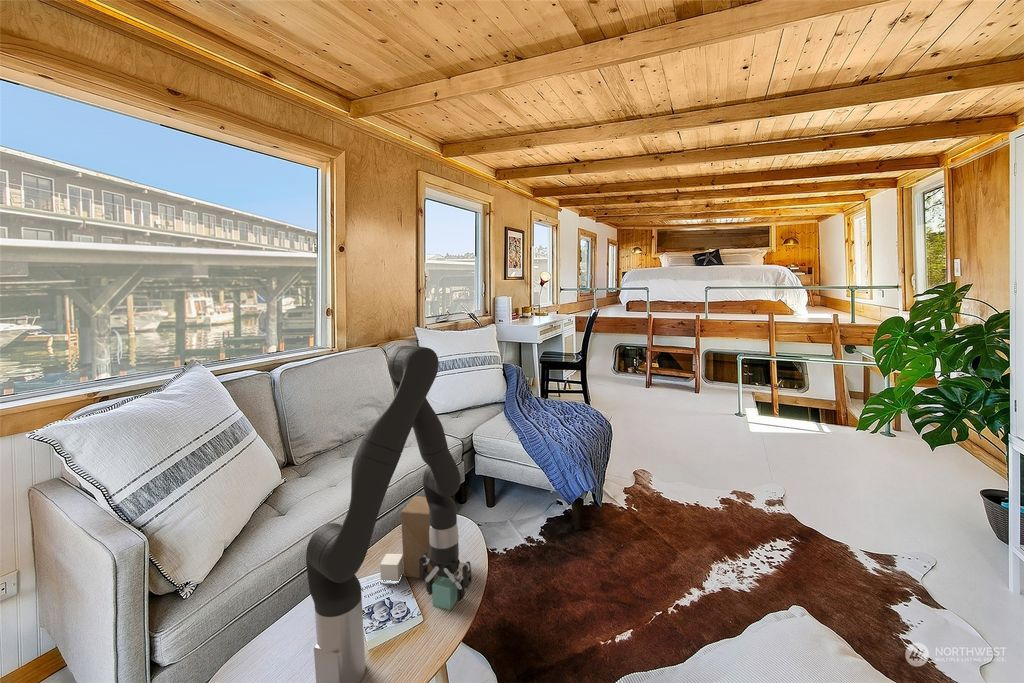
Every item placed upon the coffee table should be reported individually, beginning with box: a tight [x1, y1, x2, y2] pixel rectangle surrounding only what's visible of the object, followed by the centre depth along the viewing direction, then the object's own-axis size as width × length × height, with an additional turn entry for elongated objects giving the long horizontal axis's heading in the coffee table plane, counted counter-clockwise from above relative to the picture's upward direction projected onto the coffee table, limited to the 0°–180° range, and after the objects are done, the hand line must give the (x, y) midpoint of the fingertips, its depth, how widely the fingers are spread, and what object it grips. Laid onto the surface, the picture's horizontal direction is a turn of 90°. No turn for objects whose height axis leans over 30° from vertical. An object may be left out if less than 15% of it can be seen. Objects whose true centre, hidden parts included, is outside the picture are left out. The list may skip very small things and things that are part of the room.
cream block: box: [379, 553, 404, 581], centre depth 126 cm, size 5×5×6 cm
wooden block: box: [400, 495, 439, 581], centre depth 130 cm, size 10×10×20 cm
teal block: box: [432, 576, 458, 611], centre depth 116 cm, size 5×5×6 cm
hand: (445, 596), depth 117 cm, fingers open, 8 cm apart
